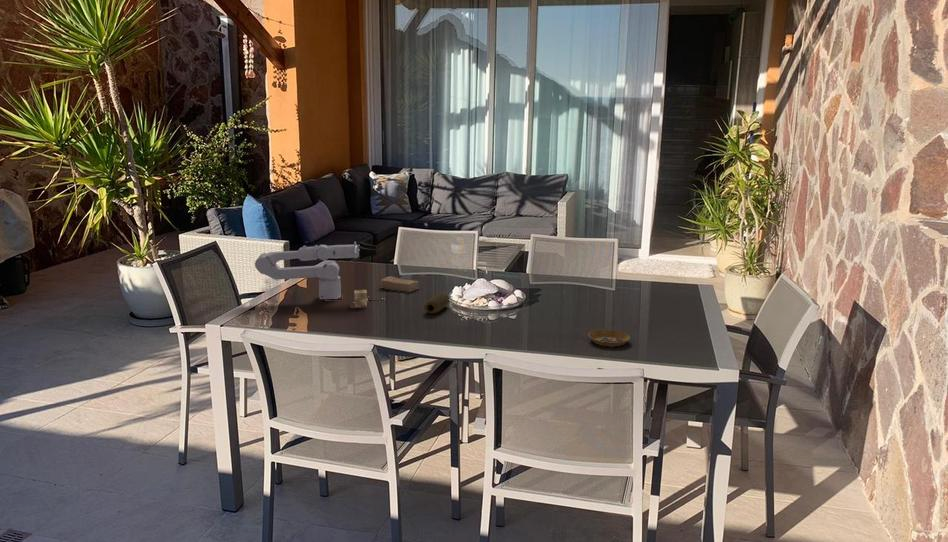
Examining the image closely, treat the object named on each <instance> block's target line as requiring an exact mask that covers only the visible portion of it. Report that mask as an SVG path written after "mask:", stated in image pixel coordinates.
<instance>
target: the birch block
mask: <svg viewBox="0 0 948 542" xmlns="http://www.w3.org/2000/svg"><path fill="white" fill-rule="evenodd" d="M367 294H368V292H367V289H356V290H355V289H354V303H355V307H361V306H367V302H368V298H367V297H368V295H367Z"/></svg>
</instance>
